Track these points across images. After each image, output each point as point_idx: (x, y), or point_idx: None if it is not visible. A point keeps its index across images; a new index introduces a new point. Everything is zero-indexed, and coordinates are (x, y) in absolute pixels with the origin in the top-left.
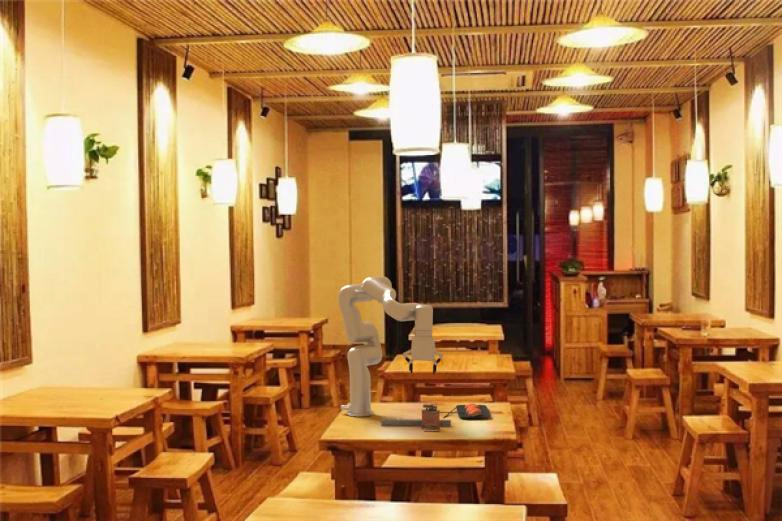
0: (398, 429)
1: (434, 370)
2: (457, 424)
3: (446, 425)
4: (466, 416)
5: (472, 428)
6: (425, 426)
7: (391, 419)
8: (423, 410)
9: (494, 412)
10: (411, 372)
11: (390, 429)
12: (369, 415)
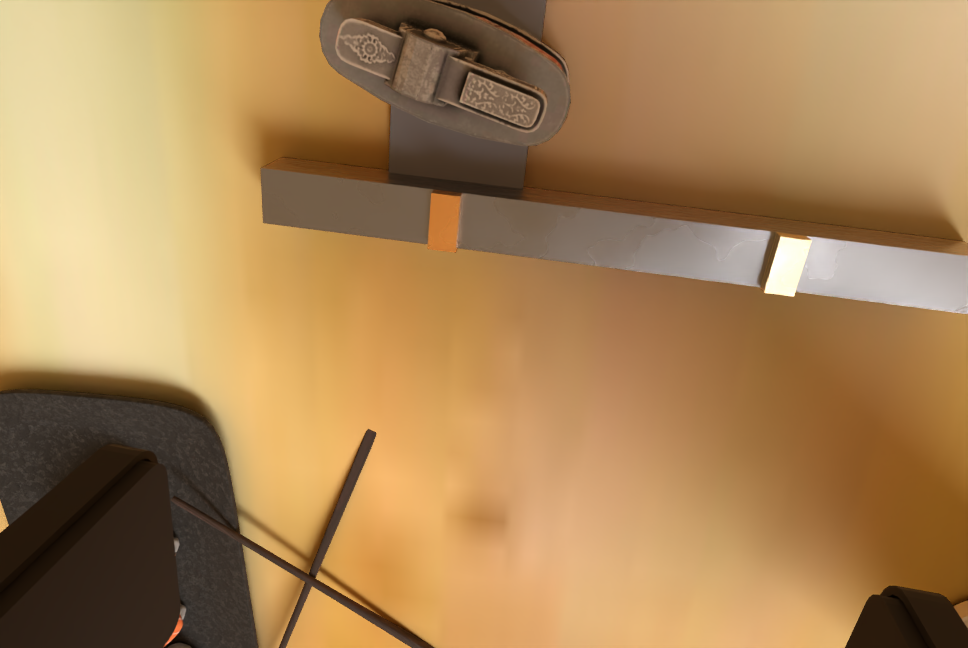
0: (823, 48)
1: (26, 515)
2: (228, 239)
3: (318, 162)
4: (177, 482)
5: (76, 55)
6: (529, 34)
7: (871, 283)
8: (543, 70)
9: None
10: (917, 599)
11: (914, 53)
12: (962, 603)
